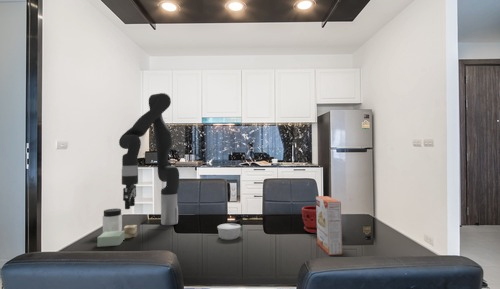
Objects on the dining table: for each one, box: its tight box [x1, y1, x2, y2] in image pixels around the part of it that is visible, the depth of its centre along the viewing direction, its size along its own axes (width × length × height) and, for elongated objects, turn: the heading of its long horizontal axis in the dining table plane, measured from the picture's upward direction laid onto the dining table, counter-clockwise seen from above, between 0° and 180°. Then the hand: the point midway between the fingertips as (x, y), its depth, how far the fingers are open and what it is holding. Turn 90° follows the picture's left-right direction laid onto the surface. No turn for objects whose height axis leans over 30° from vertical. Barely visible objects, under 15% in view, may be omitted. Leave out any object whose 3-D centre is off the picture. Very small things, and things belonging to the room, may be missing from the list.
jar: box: [102, 208, 123, 234], centre depth 145 cm, size 9×8×12 cm
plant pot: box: [301, 205, 317, 234], centre depth 144 cm, size 13×13×12 cm
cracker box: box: [315, 195, 343, 256], centre depth 117 cm, size 14×6×21 cm, turn 5°
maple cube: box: [123, 224, 138, 239], centre depth 139 cm, size 5×5×5 cm
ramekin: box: [216, 222, 242, 241], centre depth 136 cm, size 11×11×5 cm
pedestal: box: [96, 230, 126, 248], centre depth 129 cm, size 9×9×4 cm
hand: (130, 207), depth 140 cm, fingers open, 8 cm apart
